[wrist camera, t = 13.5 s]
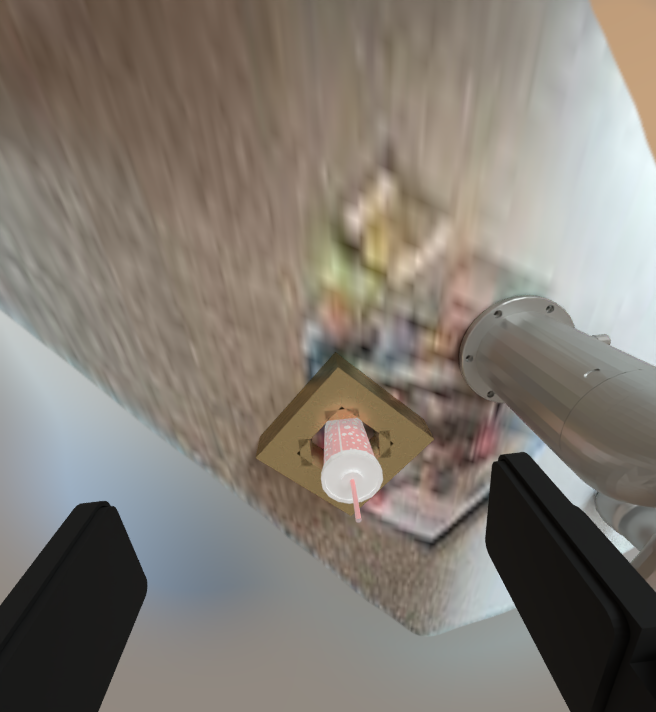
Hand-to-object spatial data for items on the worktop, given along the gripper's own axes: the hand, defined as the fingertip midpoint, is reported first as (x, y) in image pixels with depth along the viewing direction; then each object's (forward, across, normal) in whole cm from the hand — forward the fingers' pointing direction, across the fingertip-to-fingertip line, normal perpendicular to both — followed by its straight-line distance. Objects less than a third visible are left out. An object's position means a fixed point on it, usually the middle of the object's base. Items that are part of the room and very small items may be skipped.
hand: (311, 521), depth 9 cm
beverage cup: (+31, -2, +18) cm, 35 cm away
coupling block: (+30, -2, +18) cm, 35 cm away
